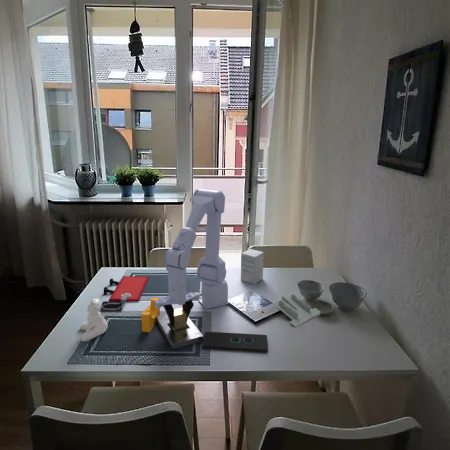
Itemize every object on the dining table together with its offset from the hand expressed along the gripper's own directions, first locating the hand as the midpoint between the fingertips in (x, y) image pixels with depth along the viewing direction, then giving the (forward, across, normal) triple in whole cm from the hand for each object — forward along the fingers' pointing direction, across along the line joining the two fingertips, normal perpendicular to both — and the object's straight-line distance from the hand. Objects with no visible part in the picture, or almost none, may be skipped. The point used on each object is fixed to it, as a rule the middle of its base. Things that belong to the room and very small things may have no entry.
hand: (178, 322), depth 122 cm
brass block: (+2, 0, 0) cm, 2 cm away
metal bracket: (+4, +42, -7) cm, 43 cm away
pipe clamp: (+3, -7, +10) cm, 12 cm away
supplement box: (+3, +43, +25) cm, 50 cm away
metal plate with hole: (+3, 0, 0) cm, 3 cm away
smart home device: (+4, +14, -14) cm, 20 cm away
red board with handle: (+4, -10, +36) cm, 37 cm away
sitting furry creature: (+3, -25, +11) cm, 27 cm away
